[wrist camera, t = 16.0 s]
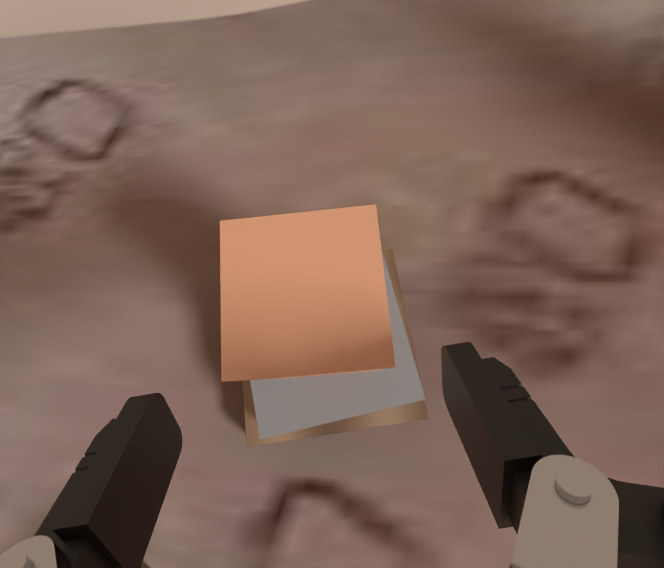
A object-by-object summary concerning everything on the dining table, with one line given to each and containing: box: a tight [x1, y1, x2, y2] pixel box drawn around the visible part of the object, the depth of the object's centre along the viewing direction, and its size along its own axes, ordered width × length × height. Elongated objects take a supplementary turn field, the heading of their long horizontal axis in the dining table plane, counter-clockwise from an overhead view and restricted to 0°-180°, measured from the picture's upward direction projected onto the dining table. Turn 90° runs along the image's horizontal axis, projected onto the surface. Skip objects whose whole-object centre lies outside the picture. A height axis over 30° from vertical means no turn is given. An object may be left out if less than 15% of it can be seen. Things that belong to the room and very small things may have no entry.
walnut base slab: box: [242, 249, 428, 447], centre depth 25 cm, size 11×11×3 cm
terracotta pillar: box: [220, 205, 395, 382], centre depth 16 cm, size 5×5×10 cm
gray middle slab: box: [250, 248, 425, 439], centre depth 22 cm, size 9×9×3 cm
